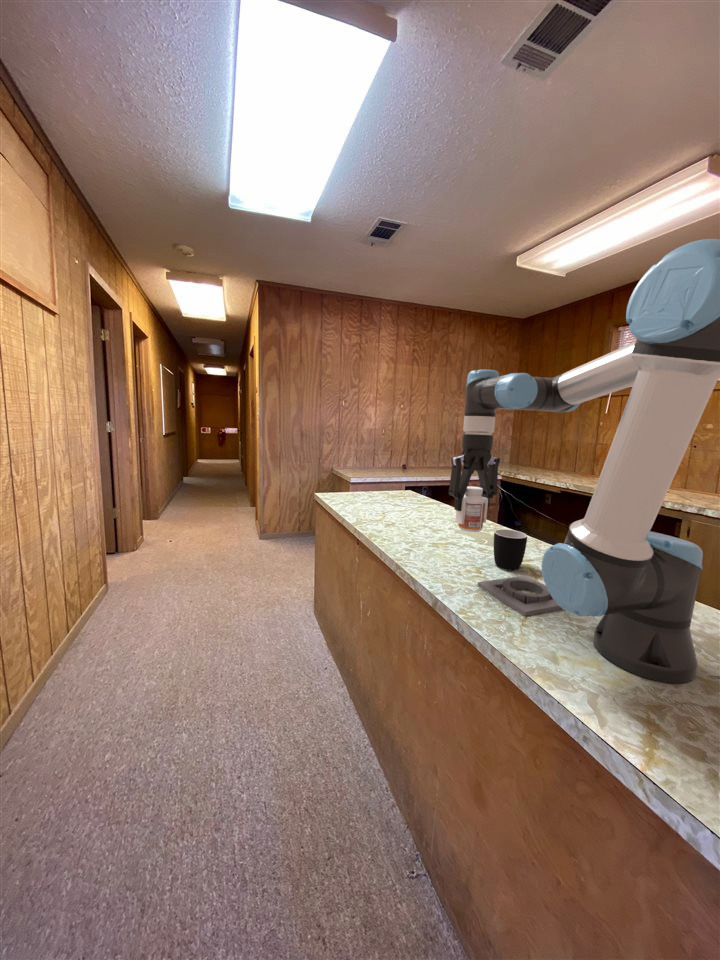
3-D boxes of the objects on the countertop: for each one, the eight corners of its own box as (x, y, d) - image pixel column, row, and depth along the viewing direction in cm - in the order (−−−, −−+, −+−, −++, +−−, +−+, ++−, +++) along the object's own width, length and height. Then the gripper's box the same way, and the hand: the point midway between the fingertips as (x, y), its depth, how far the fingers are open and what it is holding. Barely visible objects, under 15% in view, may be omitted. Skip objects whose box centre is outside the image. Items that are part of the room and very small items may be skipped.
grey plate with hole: (577, 605, 88) (578, 597, 88) (524, 616, 83) (525, 606, 82) (525, 578, 103) (526, 571, 103) (477, 585, 97) (478, 577, 97)
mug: (529, 573, 107) (533, 538, 106) (497, 572, 107) (501, 537, 105) (512, 558, 119) (515, 526, 117) (483, 556, 119) (486, 525, 117)
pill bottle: (467, 524, 104) (470, 485, 102) (487, 530, 99) (490, 488, 98) (453, 528, 100) (456, 486, 98) (473, 533, 95) (476, 490, 94)
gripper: (498, 434, 103) (490, 516, 106) (437, 432, 96) (431, 520, 99) (518, 435, 96) (509, 523, 99) (455, 433, 89) (448, 528, 92)
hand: (470, 521), depth 99 cm, fingers closed on pill bottle, 6 cm apart
